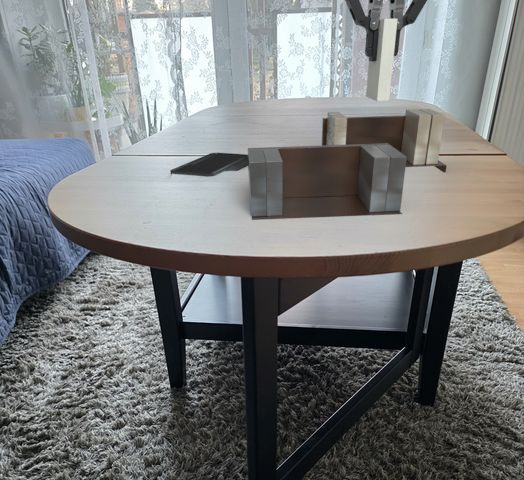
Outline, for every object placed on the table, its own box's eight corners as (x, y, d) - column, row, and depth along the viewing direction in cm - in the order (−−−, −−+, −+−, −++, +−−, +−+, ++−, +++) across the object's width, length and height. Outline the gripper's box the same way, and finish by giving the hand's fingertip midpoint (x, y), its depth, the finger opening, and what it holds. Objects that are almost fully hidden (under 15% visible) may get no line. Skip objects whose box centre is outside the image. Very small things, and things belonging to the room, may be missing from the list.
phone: (253, 154, 86) (212, 174, 74) (253, 161, 87) (213, 182, 75) (212, 152, 89) (166, 171, 77) (213, 159, 89) (167, 178, 78)
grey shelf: (382, 200, 66) (388, 143, 62) (401, 222, 58) (409, 158, 54) (249, 205, 65) (247, 148, 61) (251, 228, 57) (249, 164, 54)
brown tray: (426, 159, 85) (434, 107, 81) (445, 172, 78) (455, 115, 74) (320, 163, 85) (322, 111, 81) (329, 176, 77) (332, 119, 73)
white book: (377, 96, 79) (384, 19, 74) (389, 101, 73) (397, 18, 68) (365, 96, 79) (372, 20, 74) (376, 101, 73) (384, 18, 68)
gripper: (347, -103, 61) (338, 63, 70) (459, -104, 61) (436, 61, 70) (336, -90, 67) (329, 61, 76) (438, -91, 68) (419, 58, 77)
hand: (380, 60), depth 73 cm, fingers closed on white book, 2 cm apart
